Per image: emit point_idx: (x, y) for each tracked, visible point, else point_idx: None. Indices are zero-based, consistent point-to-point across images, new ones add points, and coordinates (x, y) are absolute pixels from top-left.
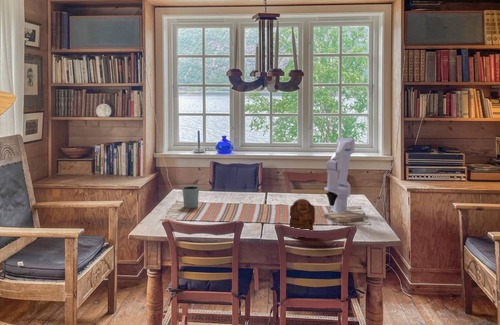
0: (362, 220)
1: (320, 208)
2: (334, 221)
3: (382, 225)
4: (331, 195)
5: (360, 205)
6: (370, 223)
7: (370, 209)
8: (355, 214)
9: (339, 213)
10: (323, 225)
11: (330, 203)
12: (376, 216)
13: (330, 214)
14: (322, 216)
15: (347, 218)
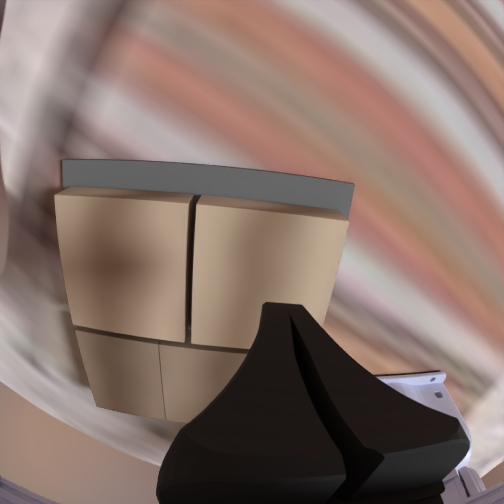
0: None
1: (499, 335)
2: (122, 180)
3: (16, 388)
4: (170, 451)
5: None
6: (48, 377)
7: None
8: (177, 416)
9: None
10: (78, 20)
11: (269, 317)
12: None
13: (268, 247)
14: (345, 191)
15: (73, 297)
